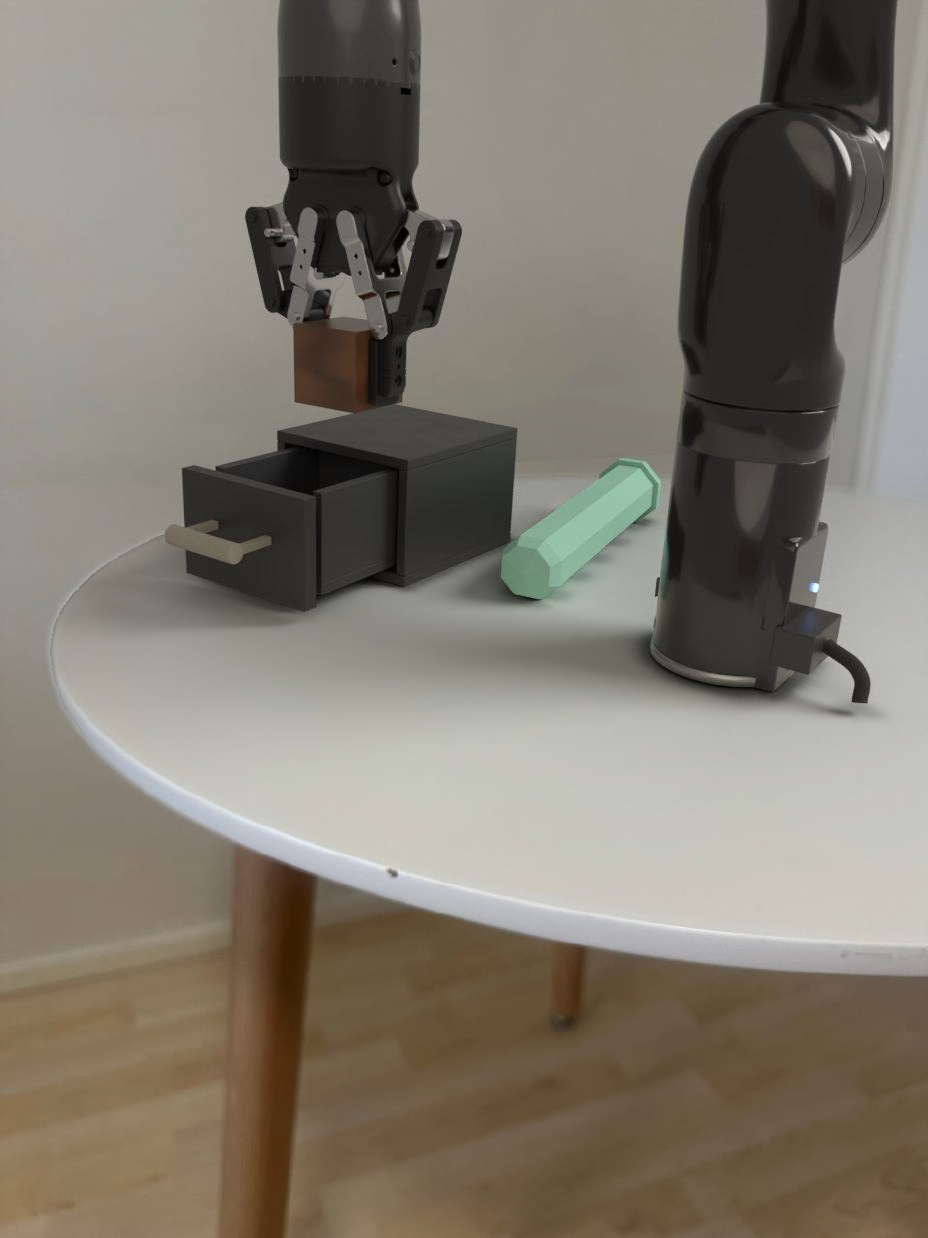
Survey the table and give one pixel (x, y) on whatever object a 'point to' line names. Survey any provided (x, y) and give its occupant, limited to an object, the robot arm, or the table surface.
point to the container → (580, 528)
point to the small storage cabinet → (429, 480)
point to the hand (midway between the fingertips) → (349, 396)
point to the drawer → (289, 523)
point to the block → (332, 364)
